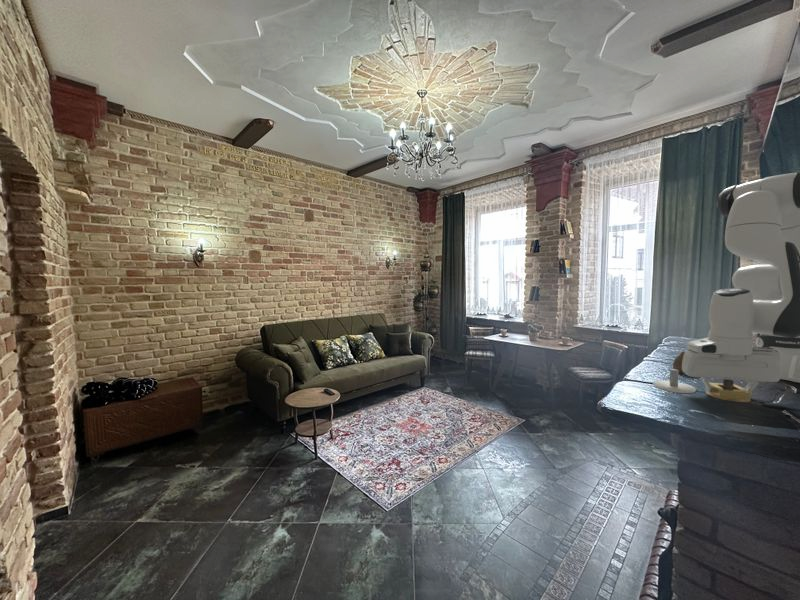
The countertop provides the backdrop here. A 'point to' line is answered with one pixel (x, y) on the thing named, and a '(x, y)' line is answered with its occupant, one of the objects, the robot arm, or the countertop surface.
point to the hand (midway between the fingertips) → (727, 393)
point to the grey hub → (674, 384)
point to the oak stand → (727, 385)
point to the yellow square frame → (731, 392)
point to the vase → (679, 363)
